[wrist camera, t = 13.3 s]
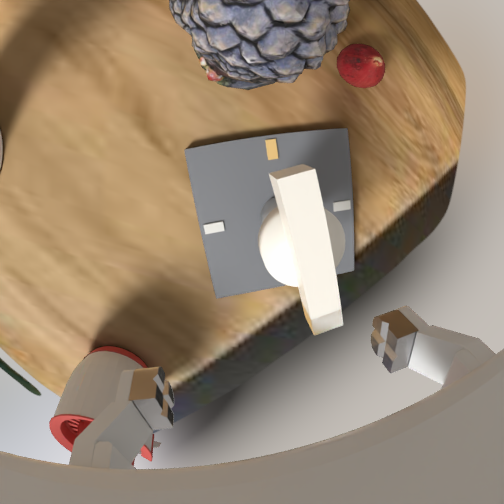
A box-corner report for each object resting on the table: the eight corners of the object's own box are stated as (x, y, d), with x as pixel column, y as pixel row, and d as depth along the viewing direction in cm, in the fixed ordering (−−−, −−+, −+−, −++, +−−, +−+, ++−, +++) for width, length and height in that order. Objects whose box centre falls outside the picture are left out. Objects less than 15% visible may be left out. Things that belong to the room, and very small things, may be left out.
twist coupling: (236, 177, 26) (243, 189, 21) (319, 154, 26) (345, 161, 21) (277, 310, 32) (289, 343, 27) (344, 287, 32) (366, 316, 27)
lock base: (216, 292, 41) (218, 334, 33) (185, 149, 33) (175, 154, 25) (349, 266, 43) (379, 298, 34) (342, 128, 35) (380, 129, 26)
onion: (327, 86, 32) (355, 78, 25) (327, 47, 30) (354, 30, 23) (367, 93, 33) (400, 88, 26) (367, 55, 31) (399, 43, 23)
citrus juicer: (140, 410, 50) (129, 494, 32) (67, 364, 44) (33, 448, 26) (187, 375, 47) (184, 476, 29) (102, 318, 41) (61, 419, 23)
